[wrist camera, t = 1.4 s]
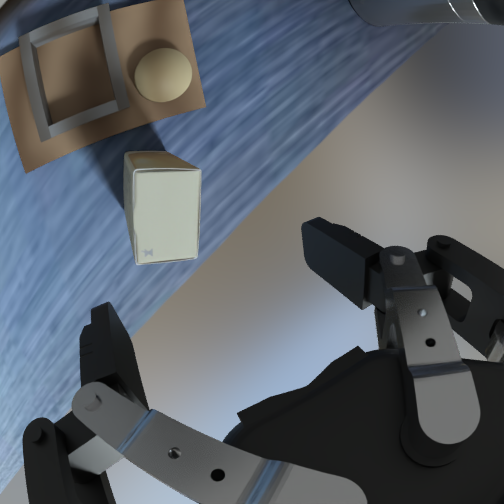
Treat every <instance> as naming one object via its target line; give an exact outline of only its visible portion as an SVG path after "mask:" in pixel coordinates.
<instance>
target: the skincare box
mask: <svg viewBox="0 0 504 504" xmlns="http://www.w3.org/2000/svg"><path fill="white" fill-rule="evenodd" d="M123 188H124V210H125V216H126V221H127V226H128V231H129V236H130V241H131V246H132V250H133V255H134V259H135V263H136V264H137V265H143V264H154V263H166V262H176V261H184V260H191V259H196V258H197V256H198V247H199V233H200V208H201V169H199V168H197V167H195V166H193V165H191V164H190V163H188V162H186V161H184V160H182V159H180V158H178V157H176V156H174V155H172V154H171V153H169V152H167V151H128V152H125V154H124V172H123Z"/></svg>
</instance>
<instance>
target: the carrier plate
mask: <svg viewBox="0 0 504 504" xmlns="http://www.w3.org/2000/svg"><path fill="white" fill-rule="evenodd" d="M18 38H19V45H20V46H19V47H17V48H15V49H13V50H11V51H9V52H7V53H6V54H4V55H2V56H0V77H1V83H2V88H3V93H4V98H5V102H6V107H7V111H8V115H9V119H10V123H11V127H12V131H13V134H14V138H15V141H16V145H17V148H18V151H19V155H20V158H21V161H22V164H23V167H24V170H25V173H28V172H30V171H32V170H34V169H36V168H38V167H40V166H42V165H44V164H47V163H49V162H51V161H53V160H55V159H57V158H59V157H62V156H64V155H66V154H68V153H71V152H73V151H75V150H78V149H80V148H82V147H85V146H87V145H90V144H92V143H95V142H97V141H100V140H102V139H105V138H108V137H110V136H113V135H116V134H118V133H121V132H124V131H127V130H130V129H133V128H136V127H139V126H142V125H145V124H148V123H151V122H154V121H157V120H161V119H164V118H167V117H171V116H174V115H178V114H181V113H185V112H189V111H192V110H196V109H200V108H204V107H206V104H205V100H204V95H203V90H202V86H201V81H200V76H199V72H198V67H197V62H196V58H195V53H194V48H193V43H192V39H191V34H190V29H189V24H188V19H187V15H186V10H185V5H184V0H155V1H150V2H145V3H141V4H136V5H132V6H128V7H124V8H120V9H116V10H113V11H110V9H109V3H106V4H103V5H99V6H96V7H93V8H90V9H87V10H83V11H81V12H78V13H75V14H72V15H69V16H67V17H64V18H61V19H59V20H56V21H54V22H51V23H49V24H47V25H44V26H42V27H40V28H37V29H35V30H33V31H31V32H29V33H27V34H24V35H22V36H20V37H18Z"/></svg>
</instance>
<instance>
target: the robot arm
mask: <svg viewBox="0 0 504 504" xmlns="http://www.w3.org/2000/svg"><path fill="white" fill-rule="evenodd" d="M350 3H351V5H352V6H353V8H354V10H355V11H356V12H357V14H358V15H359V16H360V17H361V18H362V19H363V20H364V21H366V22H367V23H369V24H371V25H373V26H378V27H381V26H390V25H402V24H417V23H481V24H494V25H504V0H350ZM301 230H302V240H303V248H304V257H305V260H306V263H307V265H308V266H309V267H310V269H312V270H313V271H314V272H315V273H316V274H318V275H319V276H320V277H322V278H323V279H324V280H325V281H327V282H328V283H329V284H331V285H332V286H333V287H334V288H335V289H337V290H338V291H339V292H340V293H342V294H343V295H344V296H345V297H347V298H348V299H349V300H350V301H351V302H353V303H354V304H355V305H357V306H358V307H359V308H360V309H361V310H363V309H365V308H367V307H368V306H370V305H371V304H373V305H374V306H375V310H374V314H375V321H376V329H377V337H378V346H379V350H373V351H369V352H366V353H365V352H364V351H363V350H362V349H361V348H360V347H359V346H357V347H355V348H354V349H352V350H350V351H349V352H347V353H346V354H344V355H343V356H341V357H339V358H338V359H336V360H334V361H333V362H331V363H330V365H328V366H327V367H326V368H325V369H324V371H322V372H321V374H319V375H318V376H317V377H316V378H315V379H314V380H313V381H312V382H311V383H310V384H309V385H307V386H305V387H303V388H300V389H296V390H293V391H289V392H286V393H282V394H279V395H275V396H271V397H269V398H267V399H265V400H263V401H261V402H259V403H257V404H255V405H253V406H250V407H248V408H247V409H244V410H242V411H240V412H238V413H237V415H238V417H239V419H240V421H241V422H240V423H239V424H238V425H237V426H235V427H234V428H233V429H232V430H231V431H230V432H229V433H228V435H227V436H226V437H225V439H224V440H223V442H221V441H219V440H216V439H214V438H212V437H209V436H207V435H205V434H203V433H201V432H199V431H196V430H194V429H192V428H190V427H188V426H186V425H184V424H182V423H180V422H178V421H176V420H174V419H172V418H170V417H168V416H166V415H165V414H163V413H161V412H159V411H157V410H154V409H151V410H149V407H148V403H147V400H146V396H145V392H144V389H143V385H142V381H141V377H140V373H139V369H138V365H137V361H136V357H135V352H134V348H133V344H132V341H131V339H130V337H129V334H128V332H127V331H126V329H125V327H124V326H123V324H122V322H121V320H120V319H119V317H118V315H117V313H116V312H115V310H114V308H113V306H112V305H111V303H110V302H106V303H104V304H101V305H99V306H97V307H94V308H92V309H91V324H89V325H86V326H84V328H83V330H82V333H81V335H80V376H81V388H80V389H79V390H78V391H77V392H76V394H75V396H74V398H73V400H72V411H71V412H70V413H68V414H67V415H66V416H64V417H63V418H61V419H60V420H59V421H57V422H56V423H52V422H51V421H50V420H49V419H47V418H43V417H42V418H37V419H35V420H33V421H32V422H31V423H29V425H28V426H27V427H26V429H25V431H24V434H23V456H24V468H25V476H26V485H27V492H28V499H29V504H116V502H115V499H114V496H113V493H112V490H111V487H110V483H109V480H108V477H107V473H106V469H108V468H109V467H111V466H112V465H114V464H115V463H116V462H118V461H119V460H120V459H122V458H123V457H125V458H126V459H128V460H129V461H131V462H132V463H133V464H135V465H137V466H138V467H139V468H141V469H142V470H144V471H145V472H147V473H148V474H150V475H151V476H153V477H154V478H156V479H157V480H159V481H161V482H162V483H164V484H165V485H167V486H169V487H170V488H172V489H174V490H175V491H177V492H179V493H180V494H182V495H184V496H186V497H188V498H190V499H191V500H193V501H195V502H197V503H199V504H504V269H503V268H501V267H500V266H498V265H497V264H495V263H493V262H492V261H490V260H489V259H487V258H485V257H483V256H482V255H480V254H479V253H477V252H475V251H474V250H472V249H470V248H469V247H467V246H465V245H463V244H462V243H460V242H458V241H456V240H455V239H453V238H451V237H448V236H444V235H436V236H433V237H430V238H429V239H428V242H427V250H423V251H419V252H415V253H413V252H412V251H411V250H410V249H408V248H405V247H401V246H390V247H386V248H383V247H381V246H379V245H378V244H376V243H374V242H372V241H371V240H369V239H367V238H365V237H363V236H361V235H360V234H358V233H356V232H354V231H353V230H351V229H349V228H347V227H345V226H342V225H338V224H334V223H333V224H332V223H330V222H328V221H326V220H325V219H323V218H321V217H317V218H314V219H312V220H309V221H307V222H304V223H303V224H302V227H301ZM453 277H455V278H457V279H458V280H460V281H462V282H463V283H464V284H466V285H467V286H469V288H470V289H471V291H472V300H471V302H470V301H468V300H467V299H466V298H464V297H463V296H462V295H460V294H459V293H457V292H456V291H455V290H453V289H452V288H451V285H452V281H453ZM452 330H454V331H455V332H456V333H457V334H459V335H460V336H461V337H462V338H463V339H465V340H466V341H467V342H468V343H469V344H471V345H472V346H473V347H474V348H475V349H476V350H478V351H479V352H480V353H481V354H482V355H483V356H485V357H486V359H487V361H480V360H471V359H463V358H461V357H460V353H459V350H458V347H457V343H456V340H455V337H454V334H453V331H452Z"/></svg>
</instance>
